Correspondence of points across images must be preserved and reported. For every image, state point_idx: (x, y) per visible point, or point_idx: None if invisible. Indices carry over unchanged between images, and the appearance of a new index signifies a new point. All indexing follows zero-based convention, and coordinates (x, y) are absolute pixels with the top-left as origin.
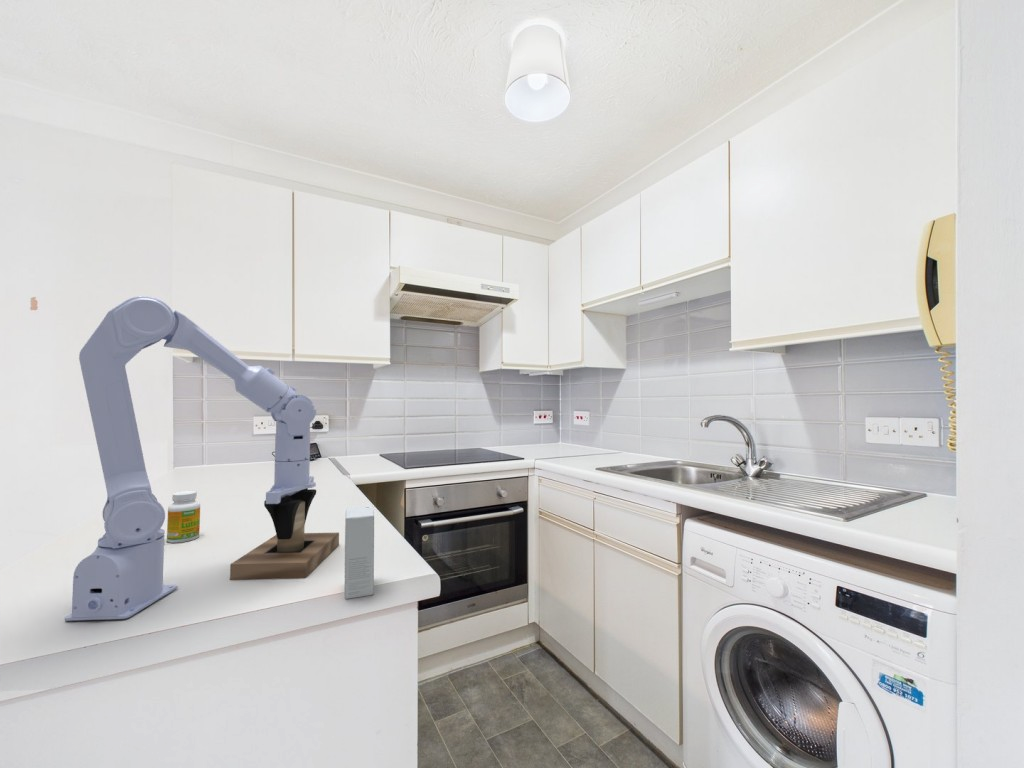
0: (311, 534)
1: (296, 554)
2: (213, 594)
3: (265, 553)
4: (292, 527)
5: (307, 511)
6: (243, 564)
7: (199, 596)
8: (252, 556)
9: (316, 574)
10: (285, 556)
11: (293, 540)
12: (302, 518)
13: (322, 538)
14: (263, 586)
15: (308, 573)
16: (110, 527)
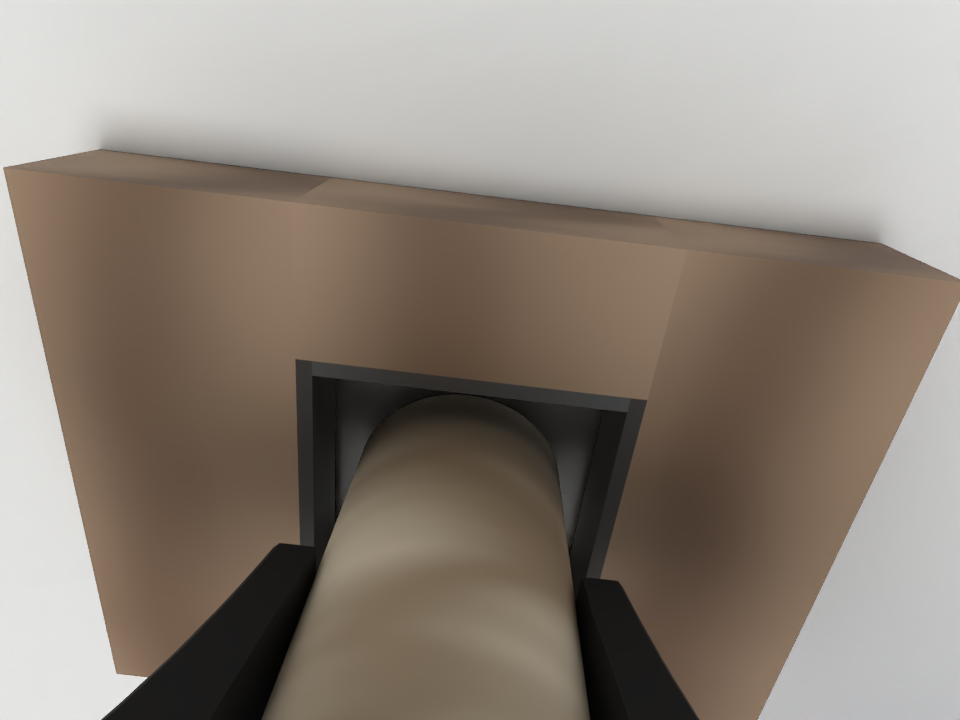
0: (111, 440)
1: (692, 422)
2: (897, 659)
3: None
4: (645, 671)
5: (149, 708)
6: (769, 684)
7: (892, 699)
8: None
9: (834, 172)
10: (713, 491)
11: (558, 537)
12: (469, 679)
13: (234, 306)
14: (906, 474)
15: (835, 240)
16: None
